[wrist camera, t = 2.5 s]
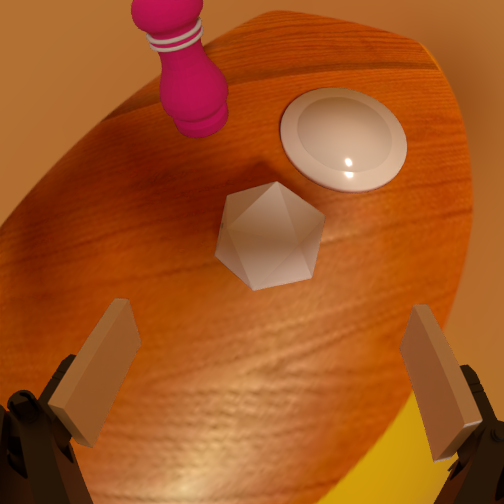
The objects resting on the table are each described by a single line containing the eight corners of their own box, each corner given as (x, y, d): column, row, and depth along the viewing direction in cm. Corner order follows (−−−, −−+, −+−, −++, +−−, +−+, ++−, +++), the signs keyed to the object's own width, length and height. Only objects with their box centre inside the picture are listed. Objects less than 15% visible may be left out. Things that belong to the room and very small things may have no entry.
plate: (281, 191, 31) (281, 186, 30) (279, 91, 36) (279, 84, 34) (414, 196, 30) (418, 191, 29) (390, 98, 34) (393, 92, 33)
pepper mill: (207, 88, 37) (170, -51, 18) (245, 115, 35) (221, -44, 16) (160, 121, 36) (97, -17, 17) (196, 153, 34) (134, -6, 15)
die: (273, 193, 32) (200, 168, 25) (351, 204, 27) (289, 174, 19) (256, 273, 33) (179, 270, 26) (330, 298, 27) (261, 305, 20)
